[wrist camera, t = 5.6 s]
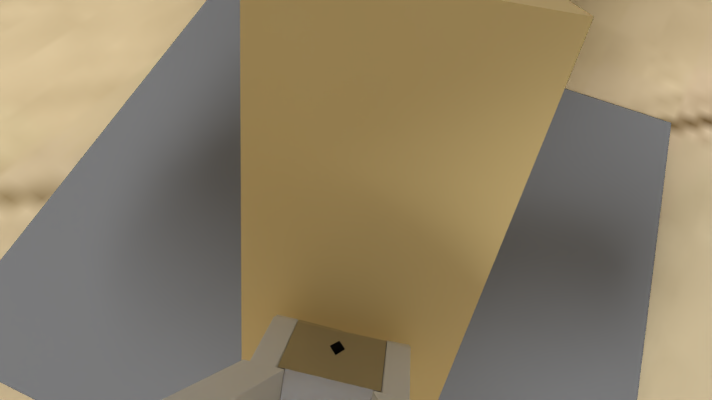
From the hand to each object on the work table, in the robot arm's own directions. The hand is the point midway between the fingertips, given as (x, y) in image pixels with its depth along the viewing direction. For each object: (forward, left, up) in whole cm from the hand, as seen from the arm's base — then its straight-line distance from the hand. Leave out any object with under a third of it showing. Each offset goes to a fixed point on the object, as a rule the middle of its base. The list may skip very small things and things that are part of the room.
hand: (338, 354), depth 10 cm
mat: (-2, +6, -7) cm, 9 cm away
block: (0, 0, -5) cm, 6 cm away
